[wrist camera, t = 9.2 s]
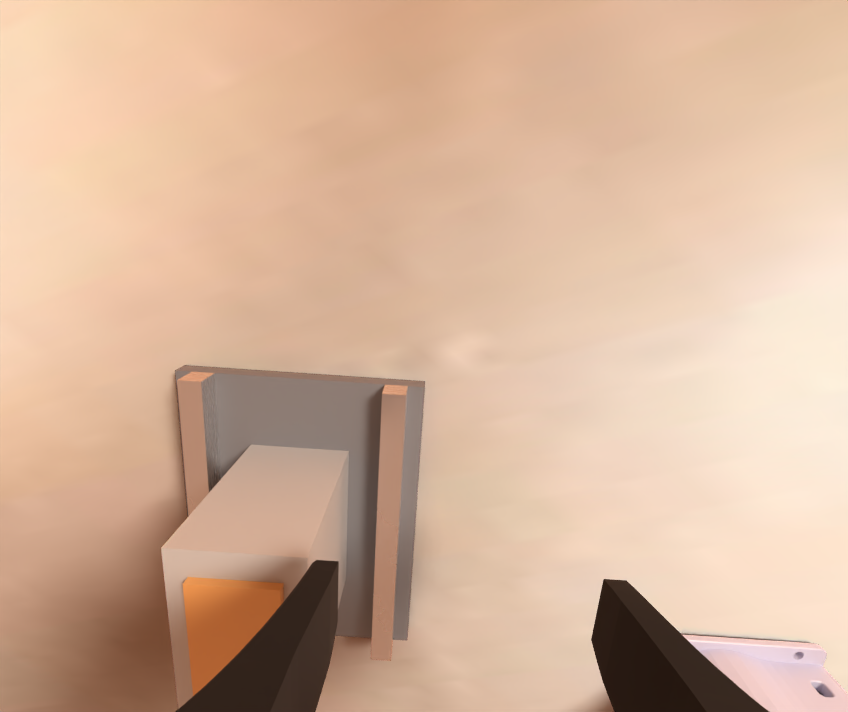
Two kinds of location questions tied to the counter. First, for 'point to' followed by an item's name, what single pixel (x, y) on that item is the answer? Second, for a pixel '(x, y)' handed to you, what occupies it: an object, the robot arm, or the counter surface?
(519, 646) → the counter surface
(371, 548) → the rail mount
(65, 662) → the counter surface
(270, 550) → the module block
